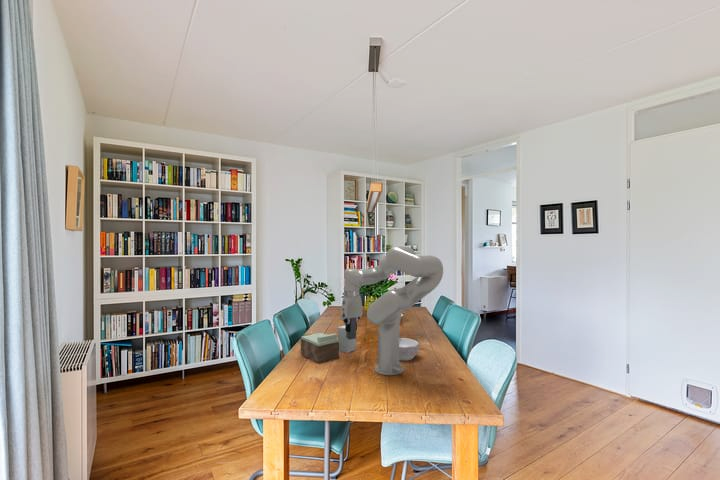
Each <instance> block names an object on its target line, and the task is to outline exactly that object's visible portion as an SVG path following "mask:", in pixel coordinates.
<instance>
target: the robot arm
mask: <svg viewBox="0 0 720 480" xmlns="http://www.w3.org/2000/svg"><path fill="white" fill-rule="evenodd" d="M398 271H400V272H403V273H404V274H407V275H409V276H411V277H414V279H412V280H411V281H410V282H409V283H407V284H405V285H404V286H403V287H399V288H394V289H389V290H388V291H386V292H384V293H383V294H382V295H380V296H379V297H378V298H377V299H376V300H374V301H373V302H371V304H370V305H369V306H368V308H367V309H366V318H367V320H368V322H369V323H370V324H372V325H375V326H378V329H377V330H378V332H377V364H376V365H374V372H375V373H377V374H378V375H383V376H397V375H399V374H402V373H403V372H404V370H406V369H405V368H406V367H404V366H402V364H401V363H402V361H401V360H399V338H400V324H401V318H402V312H403V311H407V310H409V309H411V308H412V307H413V306H414V305H415V304H417V303H418V302H419V301H421V300H422V299H423V298H425V297H426V296H427V295H429V294H430V293H432V291H434V290H435V289H436V288H437V287H438V286H439V284H440V283H441V280H442V279H443V276H444V265H443V262H442V261H441V259H440V258H439V257H437V256H436V255H435V256H434V255H416V252H415V250H414V249H413V248H411V247H410V246H392V247H391V248H389V249H388V250H387V252H386V255H385V256H381V258H380V259H379V262H378V265H376V266H374V267H372V268H364V269H358V268H346V269H345V270H344V273H343V274H344V277H343V279H344V280H343V282H344V283H343V286H344V287H343V292H342V296H343V297H342V302H341V310H340V313H341V314H340V316H339V319H340V320H341V321H343V323H344V325H345V331H346V332H350V318H356V332H358V323H359V320H360V319H362V317H363V302H362V298H361V295H360V287H362V286H367V285H375V284H377V283H380V282H381V281H384V280H385V279H387V278H388V277H390V276H391V275H392V274H394V273H396V272H398Z"/></svg>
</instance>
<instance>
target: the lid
mask: <svg viewBox="0 0 720 480" xmlns="http://www.w3.org/2000/svg"><path fill="white" fill-rule="evenodd" d="M306 335H307V336H303V335H300V340H301V339H303V340H305V341H308V342H310V343H312V344H314V345H317V346H322V345H326V344H331V343H335V342H339V339H338V333H331V334H327V333H323V332H318V333H313V334H312V335H308V334H306Z"/></svg>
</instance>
